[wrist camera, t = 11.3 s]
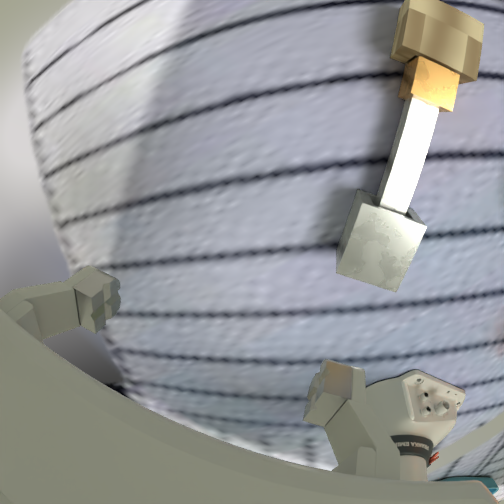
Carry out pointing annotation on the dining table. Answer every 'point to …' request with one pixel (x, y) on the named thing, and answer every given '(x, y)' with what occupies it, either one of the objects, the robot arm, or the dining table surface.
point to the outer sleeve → (378, 243)
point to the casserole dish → (485, 480)
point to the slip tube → (415, 129)
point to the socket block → (439, 37)
